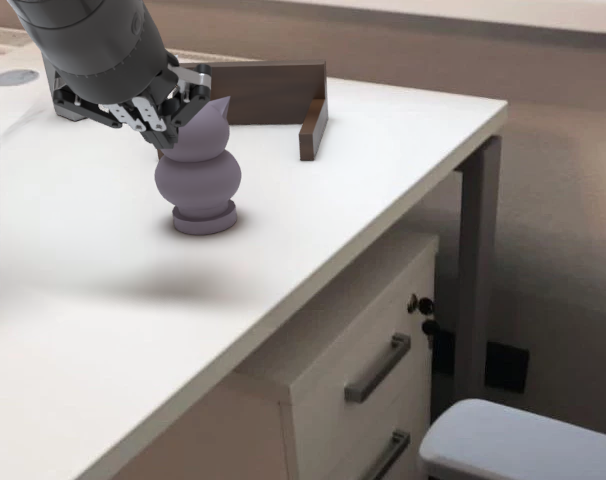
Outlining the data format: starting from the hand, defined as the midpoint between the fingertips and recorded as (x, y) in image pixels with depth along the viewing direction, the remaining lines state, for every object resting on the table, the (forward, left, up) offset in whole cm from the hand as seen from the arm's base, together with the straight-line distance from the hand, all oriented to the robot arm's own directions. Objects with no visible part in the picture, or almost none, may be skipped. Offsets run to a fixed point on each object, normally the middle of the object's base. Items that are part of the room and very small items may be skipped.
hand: (165, 138), depth 75 cm
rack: (0, +31, -11) cm, 34 cm away
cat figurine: (0, +8, -12) cm, 14 cm away
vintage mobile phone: (-25, +41, -12) cm, 50 cm away
